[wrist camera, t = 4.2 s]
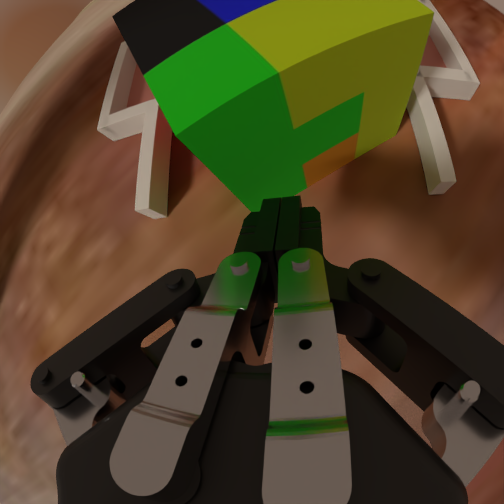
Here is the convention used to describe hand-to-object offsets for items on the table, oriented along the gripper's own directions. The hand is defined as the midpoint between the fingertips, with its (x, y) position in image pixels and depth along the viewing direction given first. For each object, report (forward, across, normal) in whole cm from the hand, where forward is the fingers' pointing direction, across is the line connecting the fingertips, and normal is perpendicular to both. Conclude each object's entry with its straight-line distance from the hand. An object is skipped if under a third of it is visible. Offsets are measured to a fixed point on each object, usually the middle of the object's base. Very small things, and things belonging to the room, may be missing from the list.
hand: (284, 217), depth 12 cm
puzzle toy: (+9, 0, -2) cm, 9 cm away
